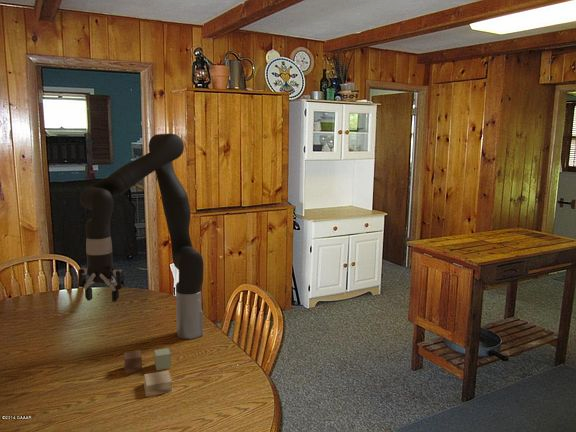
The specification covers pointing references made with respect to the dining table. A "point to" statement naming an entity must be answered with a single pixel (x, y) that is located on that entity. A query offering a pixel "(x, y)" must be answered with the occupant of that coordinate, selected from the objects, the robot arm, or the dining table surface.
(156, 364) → the sage block
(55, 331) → the dining table surface
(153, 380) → the maple slab
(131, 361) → the walnut block
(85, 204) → the robot arm
